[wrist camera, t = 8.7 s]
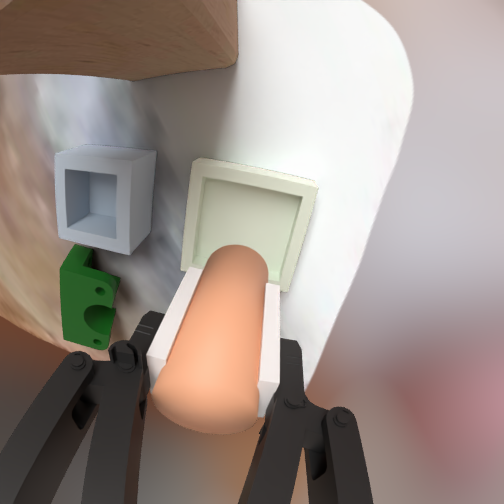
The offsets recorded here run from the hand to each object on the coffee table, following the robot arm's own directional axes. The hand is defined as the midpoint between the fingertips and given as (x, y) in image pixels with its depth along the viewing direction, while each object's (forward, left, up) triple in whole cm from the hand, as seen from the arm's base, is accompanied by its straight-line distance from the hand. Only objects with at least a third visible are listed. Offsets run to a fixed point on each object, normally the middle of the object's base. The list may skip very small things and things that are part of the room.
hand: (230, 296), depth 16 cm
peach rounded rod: (0, 0, -3) cm, 3 cm away
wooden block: (-9, +17, -12) cm, 23 cm away
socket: (-13, +1, -11) cm, 17 cm away
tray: (0, 0, -11) cm, 11 cm away
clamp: (-16, -12, -12) cm, 23 cm away
